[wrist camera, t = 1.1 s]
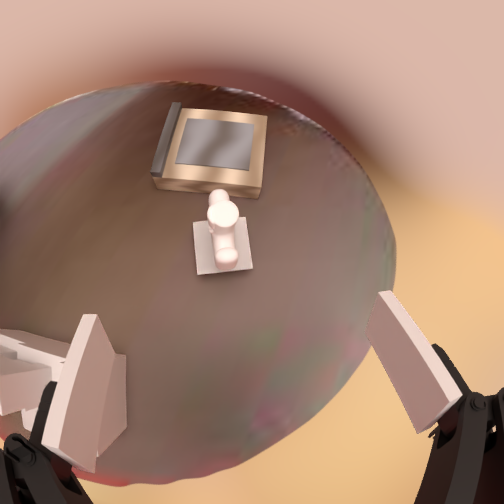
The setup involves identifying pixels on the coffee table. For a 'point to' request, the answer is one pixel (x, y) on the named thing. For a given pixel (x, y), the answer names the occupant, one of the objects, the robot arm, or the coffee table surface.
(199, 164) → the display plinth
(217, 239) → the figurine
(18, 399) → the building blocks
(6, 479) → the robot arm
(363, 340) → the coffee table surface
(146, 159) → the coffee table surface
